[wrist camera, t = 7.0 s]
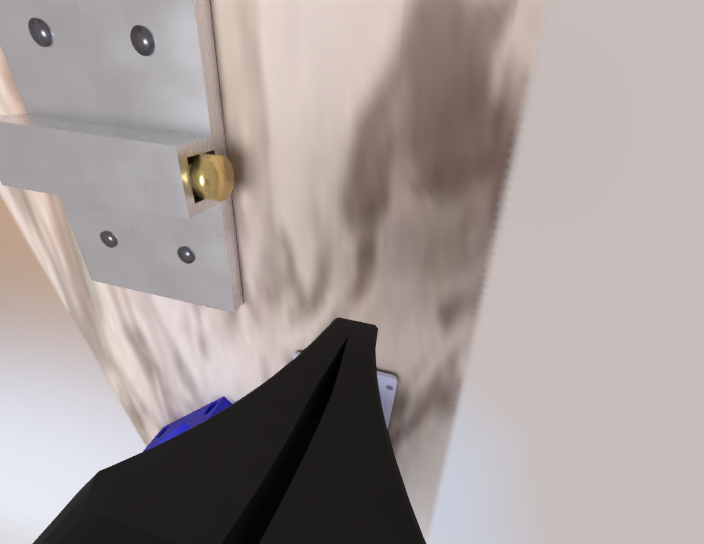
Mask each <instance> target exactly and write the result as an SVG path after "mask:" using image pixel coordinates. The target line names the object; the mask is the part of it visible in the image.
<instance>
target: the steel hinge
mask: <svg viewBox="0 0 704 544" xmlns="http://www.w3.org/2000/svg"><path fill="white" fill-rule="evenodd" d="M0 44H1V47H2V49H3V52H4V55H5V57H6V60H7V62H8V65H9V68H10V70H11V73H12V75H13V78H14V81H15V83H16V86H17V88H18V91H19V93H20V96H21V99H22V101H23V104H24V106H25V109H26V112H27V114H15V115H0V181H1V183H2V185H5V186H11V187H16V188H22V189H27V190H33V191H38V192H44V193H49V194H55V195H59V197H60V200H61V202H62V205H63V207H64V210H65V212H66V215H67V218H68V220H69V223H70V225H71V228H72V231H73V233H74V236H75V238H76V241H77V244H78V246H79V249H80V251H81V254H82V256H83V259H84V262H85V264H86V267H87V269H88V272H89V275H90V277H91V280H93V281H98V282H102V283H106V284H111V285H115V286H119V287H124V288H128V289H133V290H137V291H141V292H146V293H150V294H154V295H159V296H163V297H167V298H172V299H176V300H180V301H185V302H189V303H193V304H198V305H202V306H207V307H211V308H215V309H220V310H224V311H228V312H233V313H235V312H236V311H237V310H238V309H239V308H240V307H241V305H242V304H243V295H242V286H241V277H240V268H239V259H238V250H237V241H236V232H235V223H234V214H233V205H232V197H231V194H230V196H229V197H228V198H227V199H226V200H225V201H214V200H208V199H203V198H200V197H198V196H197V195H196V194H195V193H194V191H193V189H192V186H191V182H190V172H189V166H188V161H187V159H192V160H194V159H195V158H196V157H197V156H198V155H199V154H202V153H206V154H213V155H220V156H225V157H226V158H227V152H226V143H225V134H224V125H223V116H222V107H221V98H220V89H219V80H218V71H217V62H216V54H215V45H214V36H213V27H212V18H211V9H210V0H0Z"/></svg>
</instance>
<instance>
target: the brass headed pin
mask: <svg viewBox="0 0 704 544" xmlns="http://www.w3.org/2000/svg"><path fill="white" fill-rule="evenodd" d="M187 161H188V166H189V172H190V182H191V186H192V189H193V191H194V193H195V194H196V195H197V196H198V197H200V198H203V199H208V200H214V201H225V200H226V199H227V198H228V197H229V196H230V194H231V192H232V190H233V186H234V171H233V167H232V164H231V162H230V161H229V159H228V158H226V157H225V156H220V155H213V154H206V153H202V154H199V155H198V156H197V157H196V158H195V159H194V160H192V159H187Z"/></svg>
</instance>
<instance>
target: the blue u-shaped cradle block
mask: <svg viewBox="0 0 704 544" xmlns="http://www.w3.org/2000/svg"><path fill="white" fill-rule="evenodd" d="M230 405H232V403H230V402H229V401H228V400H227V399H226V398H225V397H222V398H220V399H218V400H216V401H214V402H212V403H210V404H208V405H206V406H204V407H202V408H200V409H198V410H196V411H194V412H192V413H191V414H189V415H187V416H185V417H183V418H181V419H179V420H177V421H175V422H173V423H171V424H169V425H167V426H165V427H163V428H162V429H161V430H160V432H159V433H158V434H157V435H156V436H155V438H154V439H153V440H152V441H151V443H150V444H149V445H148V446H147V447H146V449H145V450H144V451H146V450H149V449H151V448H153V447H155V446H157V445H159V444H161V443H163V442H166V441H168V440H169V439H171V438H173V437H175V436H177V435H179V434H181V433H183V432H185V431H187V430H188V429H190V428H192V427H194V426H196V425H198V424H200V423H202V422H204V421H205V420H207V419H209V418H211V417H212V416H214V415H216V414H217V413H219V412H221V411H222V410H224V409H226V408H227V407H229V406H230ZM144 451H143V452H144Z"/></svg>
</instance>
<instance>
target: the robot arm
mask: <svg viewBox="0 0 704 544" xmlns="http://www.w3.org/2000/svg"><path fill="white" fill-rule="evenodd" d="M377 332H378V328H377V327H376V326H375V325H372V324H367V323H363V322H358V321H353V320H348V319H343V318H336V319H334V321H333V322H332V323H331V324H330V325H329V326H328V327H327V328H326V329H325V330H324V331H323V332H322V333H321V334H320V335H319V336H318V337H317V338H316V339H315V340H314V341H313V342H312V343H311V344H310V345H309V346H308V347H307V348H306V349H304V350H303V351H302V352H296V353H295V354H294V356H293V358H292V361H291V362H290V363H288V364H287V365H286V366H285V367H284V368H282V369H281V370H280V371H279V372H277V373H276V374H275V375H274V376H272V377H271V378H270V379H268V380H267V381H266V382H264V383H263V384H262V385H260V386H259V387H258V388H256V389H255V390H253V391H252V392H250V393H249V394H247V395H246V396H245V397H243V398H241V399H240V400H238V401H237V402H235V403H234V404H232V405H230V406H229V407H227V408H226V409H224V410H222V411H221V412H219V413H217V414H216V415H214V416H212V417H211V418H209V419H207V420H205V421H204V422H202V423H200V424H198V425H196V426H194V427H192V428H190V429H188V430H187V431H185V432H183V433H181V434H179V435H177V436H175V437H173V438H171V439H169V440H168V441H166V442H163V443H161V444H159V445H157V446H155V447H153V448H151V449H149V450H146V451H144V452H142V453H140V454H138V455H136V456H133V457H131V458H129V459H126V460H124V461H122V462H120V463H117V464H115V465H113V466H111V467H108V468H106V469H103V470H101V471H99V472H98V473H97V474H96V475H95V476H94V477H93V478H92V479H91V480H90V481H89V482H88V483H87V484H86V485H85V486H84V487H83V488H82V489H81V490H80V491H79V492H78V493H77V494H76V495H75V497H74V498H73V499H72V500H71V501H70V502H69V503H68V504H67V506H66V507H65V508H64V509H63V510H62V511H61V513H59V515H58V516H57V517H56V518H55V519H54V520H53V521H52V522H51V524H50V525H49V526H48V527H47V528H46V529H45V530H44V532H43V533H42V534H41V535H40V536H39V537H38V538H37V539H36V540H35V542H34V543H33V544H426V542H425V540H424V537H423V535H422V532H421V530H420V527H419V524H418V522H417V519H416V517H415V514H414V511H413V509H412V506H411V503H410V501H409V498H408V495H407V492H406V489H405V486H404V483H403V480H402V477H401V474H400V471H399V468H398V465H397V462H396V459H395V456H394V452H393V448H392V445H391V441H390V438H389V434H388V425H389V420H390V416H391V411H392V407H393V402H394V397H395V393H396V388H397V384H398V379H397V377H396V376H394V375H392V374H388V373H384V372H379V371H377V369H376V353H375V347H376V340H377ZM388 385H390V386H388Z"/></svg>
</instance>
